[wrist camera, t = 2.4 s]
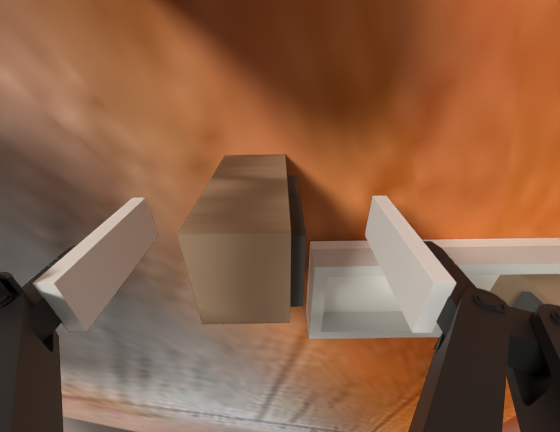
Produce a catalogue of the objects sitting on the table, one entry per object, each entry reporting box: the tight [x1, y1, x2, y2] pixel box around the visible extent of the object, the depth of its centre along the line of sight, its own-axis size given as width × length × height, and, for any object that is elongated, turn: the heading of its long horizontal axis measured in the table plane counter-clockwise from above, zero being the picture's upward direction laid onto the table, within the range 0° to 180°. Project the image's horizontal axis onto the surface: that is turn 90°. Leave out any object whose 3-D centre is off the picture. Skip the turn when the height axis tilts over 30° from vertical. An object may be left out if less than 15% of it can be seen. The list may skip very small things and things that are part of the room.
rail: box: [306, 238, 560, 339], centre depth 18 cm, size 24×9×10 cm, turn 91°
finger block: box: [177, 154, 306, 324], centre depth 14 cm, size 5×5×9 cm
